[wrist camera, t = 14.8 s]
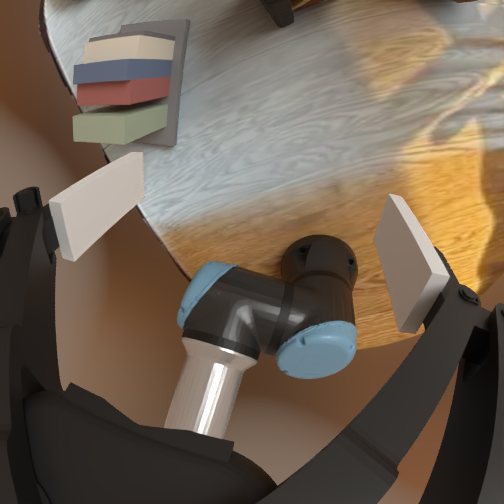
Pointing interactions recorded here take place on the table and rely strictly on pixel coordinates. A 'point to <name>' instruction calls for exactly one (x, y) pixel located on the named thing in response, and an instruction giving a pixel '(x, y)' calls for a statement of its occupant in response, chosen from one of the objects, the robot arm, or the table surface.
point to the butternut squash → (463, 1)
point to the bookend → (285, 9)
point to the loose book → (119, 123)
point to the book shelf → (136, 71)
